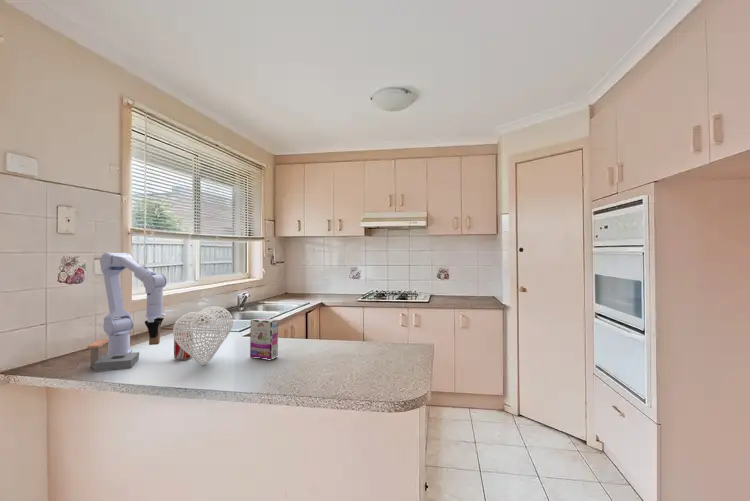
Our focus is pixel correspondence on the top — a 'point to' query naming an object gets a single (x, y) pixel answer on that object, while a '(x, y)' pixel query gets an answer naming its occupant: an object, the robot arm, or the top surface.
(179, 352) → the soda can
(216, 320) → the heart
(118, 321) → the robot arm
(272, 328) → the candy bar box
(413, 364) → the top surface
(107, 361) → the socket block
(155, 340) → the peg
